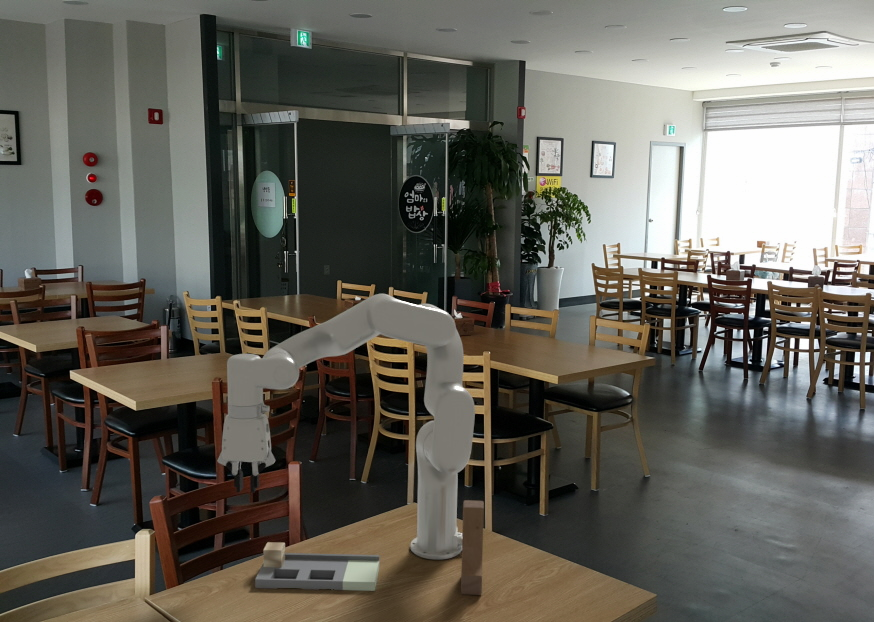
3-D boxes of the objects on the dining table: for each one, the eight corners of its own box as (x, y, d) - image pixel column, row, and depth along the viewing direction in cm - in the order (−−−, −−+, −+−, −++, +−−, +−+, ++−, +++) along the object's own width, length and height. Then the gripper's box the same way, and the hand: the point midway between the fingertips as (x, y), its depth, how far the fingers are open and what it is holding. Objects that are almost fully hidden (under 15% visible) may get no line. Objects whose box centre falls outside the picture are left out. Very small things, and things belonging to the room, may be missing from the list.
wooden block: (481, 595, 171) (483, 516, 169) (460, 595, 172) (462, 515, 169) (481, 576, 180) (483, 500, 178) (461, 575, 181) (463, 499, 178)
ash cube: (285, 559, 182) (284, 542, 182) (281, 567, 178) (281, 550, 178) (267, 558, 182) (267, 542, 182) (263, 566, 179) (263, 550, 178)
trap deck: (379, 567, 184) (379, 555, 183) (374, 590, 173) (375, 577, 172) (266, 564, 184) (266, 552, 183) (255, 587, 173) (255, 574, 173)
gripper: (285, 406, 179) (286, 485, 182) (214, 405, 179) (215, 483, 182) (278, 415, 172) (279, 497, 174) (203, 414, 172) (205, 496, 174)
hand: (246, 489), depth 178 cm, fingers open, 2 cm apart
